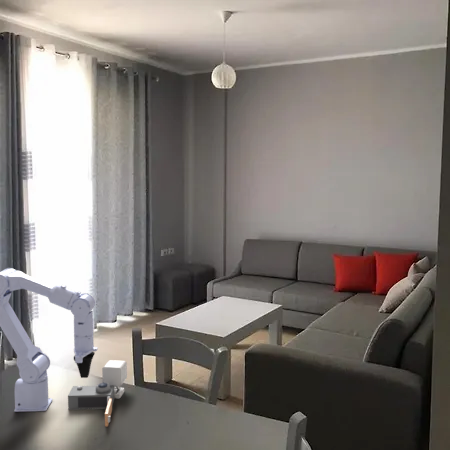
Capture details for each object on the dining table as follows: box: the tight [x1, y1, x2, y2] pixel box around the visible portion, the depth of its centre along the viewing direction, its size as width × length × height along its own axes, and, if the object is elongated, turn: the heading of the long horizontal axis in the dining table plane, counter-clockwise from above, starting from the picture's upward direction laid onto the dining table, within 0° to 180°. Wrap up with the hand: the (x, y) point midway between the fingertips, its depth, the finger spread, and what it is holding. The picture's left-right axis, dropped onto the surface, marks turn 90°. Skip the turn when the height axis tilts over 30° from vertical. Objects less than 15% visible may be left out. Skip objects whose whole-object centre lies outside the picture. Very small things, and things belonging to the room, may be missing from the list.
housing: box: [67, 382, 116, 411], centre depth 163 cm, size 13×7×6 cm, turn 93°
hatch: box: [104, 396, 113, 427], centre depth 155 cm, size 11×2×4 cm, turn 5°
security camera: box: [101, 359, 128, 399], centre depth 171 cm, size 6×7×10 cm
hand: (84, 376), depth 161 cm, fingers closed
